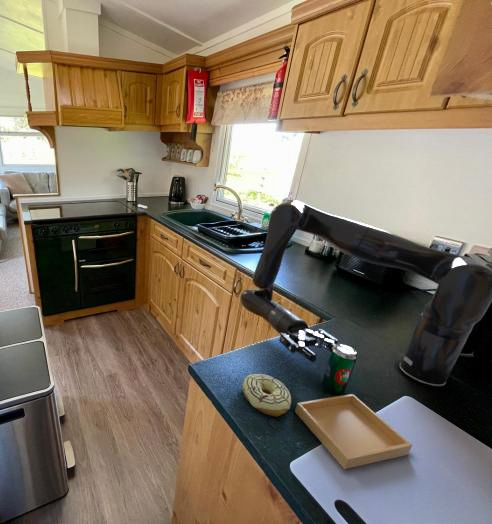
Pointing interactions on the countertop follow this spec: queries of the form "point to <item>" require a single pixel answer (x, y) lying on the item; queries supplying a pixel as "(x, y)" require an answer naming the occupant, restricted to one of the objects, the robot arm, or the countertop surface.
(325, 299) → the countertop surface
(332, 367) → the soda can
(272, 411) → the decorated donut
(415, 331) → the robot arm
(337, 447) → the serving tray
